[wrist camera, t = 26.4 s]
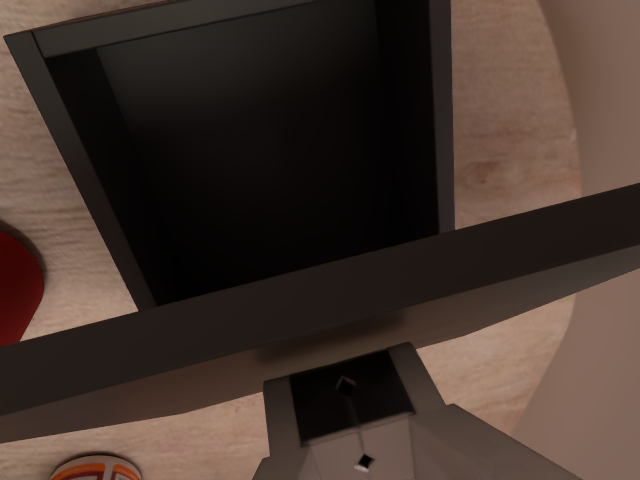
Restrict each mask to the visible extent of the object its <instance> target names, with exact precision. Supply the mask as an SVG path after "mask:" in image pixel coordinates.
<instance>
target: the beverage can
mask: <svg viewBox="0 0 640 480" xmlns="http://www.w3.org/2000/svg"><path fill="white" fill-rule="evenodd" d="M43 291H44V281H43V276H42V273H41V270H40V268H39V266H38V264H37V262H36V260H35V259H34V257H33V256H32V255H31V254H30V252H29V251H28V250H27V249H26V248H25V247H24V246H23V245H21V244H20V243H19V242H18V241H16V240H15V239H14V238H12V237H11V236H9V235H7V234H6V233H4V232H2V231H0V347H1V346H5V345H9V344H13V343H17V342H19V341H20V340H21V338H22V336H23V334H24V332H25V330H26V328H27V327H28V325H29V323H30V321H31V319H32V317H33V315H34V313H35V312H36V310H37V308H38V306H39V304H40V302H41V300H42V297H43Z"/></svg>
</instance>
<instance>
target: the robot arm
mask: <svg viewBox="0 0 640 480" xmlns="http://www.w3.org/2000/svg"><path fill="white" fill-rule="evenodd" d="M263 395H264V404H265V413H266V423H267V432H268V441H269V450H270V457H267V458H263V459H262V461H261V463H260V465H259V467H258V469H257V471H256V473H255V475H254V477H253V479H252V480H413V479H415V480H583V479H581V478H579V477H578V476H576V475H574V474H573V473H571V472H569V471H567V470H566V469H564V468H562V467H561V466H559V465H557V464H556V463H554V462H552V461H551V460H549V459H547V458H545V457H544V456H542V455H540V454H539V453H537V452H535V451H534V450H532V449H530V448H529V447H527V446H525V445H523V444H521V443H520V442H518V441H517V440H515V439H513V438H512V437H510V436H508V435H506V434H505V433H503V432H501V431H500V430H498V429H496V428H495V427H493V426H491V425H489V424H488V423H486V422H484V421H483V420H481V419H479V418H478V417H476V416H474V415H472V414H471V413H469V412H467V411H466V410H464V409H462V408H461V407H459V406H457V405H455V404H450V405H446V404H445V402H444V401H443V399H442V397H441V395H440V393H439V391H438V390H437V388H436V386H435V384H434V382H433V380H432V379H431V377H430V375H429V373H428V371H427V369H426V368H425V366H424V364H423V362H422V360H421V358H420V357H419V355H418V353H417V351H416V349H415V347H414V346H413V344H412V343H410V342H405V343H401V344H398V345H394V346H391V347H387V348H385V349H384V348H383V349H380V350H376V351H373V352H369V353H366V354H363V355H359V356H356V357H352V358H349V359H345V360H342V361H338V362H337V363H333V364H329V365H324V366H320V367H316V368H312V369H308V370H304V371H300V372H296V373H292V374H289V375H286V376H282V377H278V378H274V379H270V380H266V381H264V382H263Z"/></svg>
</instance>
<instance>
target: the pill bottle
mask: <svg viewBox="0 0 640 480" xmlns="http://www.w3.org/2000/svg"><path fill="white" fill-rule="evenodd" d="M49 480H141V476H140V473H139V472H138V470H137V469H136V468H135V467H134V466H133V465H132V464H131V463H129V462H128V461H126V460H123V459H121V458H117V457H112V456H102V455H98V456H87V457H82V458H78V459H75V460H72V461H70V462H67V463H66V464H64V465H62V466H61V467H59V468H58V469H57V470H56V471H55V472H54V473H53V475H52V476H51V477H50V479H49Z"/></svg>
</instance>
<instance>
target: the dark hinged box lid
mask: <svg viewBox="0 0 640 480" xmlns="http://www.w3.org/2000/svg"><path fill="white" fill-rule="evenodd" d="M638 268H640V183H637V184H633V185H629V186H625V187H621V188H618V189H614V190H610V191H606V192H602V193H598V194H594V195H591V196H586V197H582V198H579V199H575V200H571V201H567V202H563V203H559V204H555V205H551V206H547V207H543V208H540V209H536V210H532V211H528V212H524V213H520V214H516V215H512V216H508V217H504V218H501V219H497V220H493V221H489V222H485V223H481V224H477V225H473V226H469V227H465V228H462V229H458V230H454V231H450V232H446V233H442V234H438V235H434V236H430V237H426V238H423V239H419V240H415V241H411V242H407V243H403V244H399V245H395V246H391V247H387V248H384V249H380V250H376V251H372V252H368V253H364V254H360V255H356V256H352V257H348V258H345V259H341V260H337V261H333V262H329V263H325V264H321V265H317V266H313V267H309V268H306V269H302V270H298V271H294V272H290V273H286V274H282V275H278V276H274V277H270V278H267V279H263V280H259V281H255V282H251V283H247V284H243V285H239V286H235V287H231V288H228V289H224V290H220V291H216V292H212V293H208V294H204V295H200V296H196V297H192V298H189V299H185V300H181V301H177V302H173V303H169V304H165V305H161V306H157V307H154V308H150V309H146V310H142V311H138V312H134V313H130V314H126V315H122V316H118V317H115V318H111V319H107V320H103V321H99V322H95V323H91V324H87V325H83V326H79V327H76V328H72V329H68V330H64V331H60V332H56V333H52V334H48V335H44V336H40V337H37V338H33V339H29V340H25V341H21V342H17V343H13V344H9V345H5V346H1V347H0V443H6V442H12V441H18V440H25V439H31V438H37V437H43V436H49V435H55V434H61V433H67V432H74V431H80V430H86V429H92V428H98V427H104V426H110V425H116V424H122V423H129V422H135V421H141V420H147V419H153V418H159V417H165V416H171V415H177V414H183V413H187V412H190V411H194V410H198V409H201V408H205V407H208V406H212V405H216V404H219V403H223V402H226V401H230V400H234V399H237V398H241V397H245V396H248V395H252V394H255V393H259V392H263V382H264V381H266V380H270V379H274V378H278V377H282V376H286V375H289V374H292V373H296V372H300V371H304V370H308V369H312V368H316V367H320V366H324V365H329V364H333V363H337V362H338V361H342V360H345V359H349V358H352V357H356V356H359V355H363V354H366V353H369V352H373V351H376V350H380V349H383V348H384V349H385V348H387V347H391V346H394V345H398V344H401V343H405V342H410V343H412V344H413V346H414V347H415V349H418V348H422V347H425V346H429V345H433V344H436V343H440V342H444V341H447V340H451V339H454V338H458V337H462V336H465V335H467V334H470V333H473V332H475V331H478V330H480V329H483V328H486V327H488V326H491V325H493V324H496V323H499V322H501V321H504V320H506V319H509V318H511V317H514V316H517V315H519V314H522V313H524V312H527V311H530V310H532V309H535V308H537V307H540V306H543V305H545V304H548V303H550V302H553V301H555V300H558V299H561V298H563V297H566V296H568V295H571V294H574V293H576V292H579V291H581V290H584V289H587V288H589V287H592V286H594V285H597V284H599V283H602V282H605V281H607V280H609V279H612V278H615V277H618V276H620V275H623V274H625V273H628V272H631V271H633V270H636V269H638Z"/></svg>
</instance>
